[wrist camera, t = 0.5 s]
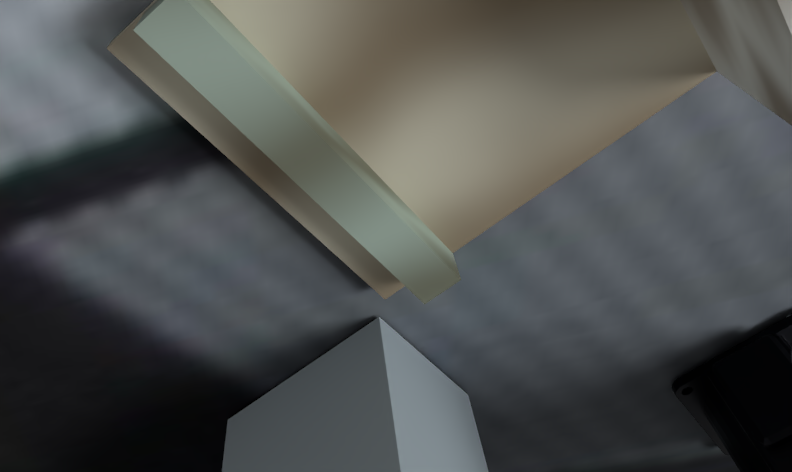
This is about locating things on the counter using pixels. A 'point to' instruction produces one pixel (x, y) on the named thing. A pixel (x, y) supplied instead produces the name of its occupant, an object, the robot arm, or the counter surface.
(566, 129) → the cleat board
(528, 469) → the counter surface
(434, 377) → the cabinet block
